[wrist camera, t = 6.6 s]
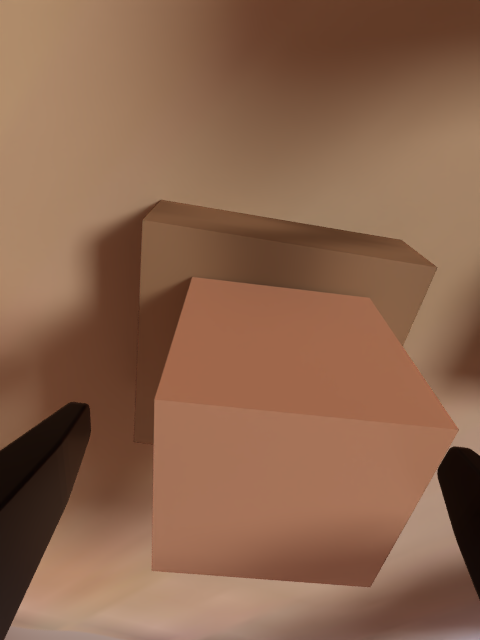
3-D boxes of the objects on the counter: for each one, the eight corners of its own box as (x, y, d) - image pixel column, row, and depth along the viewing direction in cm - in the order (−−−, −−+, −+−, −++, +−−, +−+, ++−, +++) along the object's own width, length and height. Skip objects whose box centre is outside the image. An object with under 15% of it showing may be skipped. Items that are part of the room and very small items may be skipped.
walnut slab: (396, 236, 13) (437, 267, 10) (331, 411, 17) (349, 466, 14) (163, 197, 12) (142, 219, 10) (151, 388, 16) (133, 442, 13)
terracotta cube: (369, 297, 11) (458, 430, 6) (327, 426, 13) (370, 586, 9) (192, 276, 10) (153, 399, 6) (183, 412, 13) (151, 570, 8)
